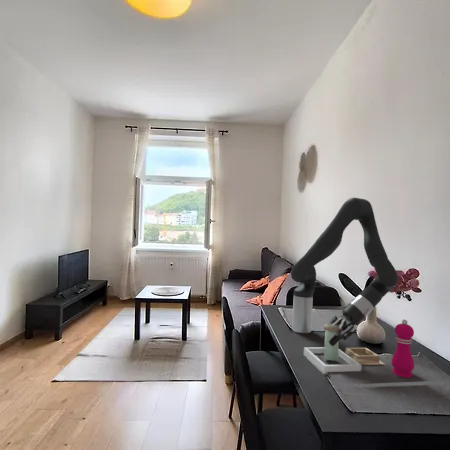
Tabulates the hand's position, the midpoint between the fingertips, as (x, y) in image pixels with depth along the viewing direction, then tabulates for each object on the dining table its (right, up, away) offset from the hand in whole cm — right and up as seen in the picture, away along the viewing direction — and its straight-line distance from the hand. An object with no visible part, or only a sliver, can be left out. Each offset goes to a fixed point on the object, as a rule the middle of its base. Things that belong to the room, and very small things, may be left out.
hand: (327, 341), depth 130 cm
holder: (+15, -9, +5) cm, 18 cm away
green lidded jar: (+2, -6, 0) cm, 6 cm away
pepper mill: (+24, -10, -8) cm, 27 cm away
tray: (+1, -8, 0) cm, 9 cm away
